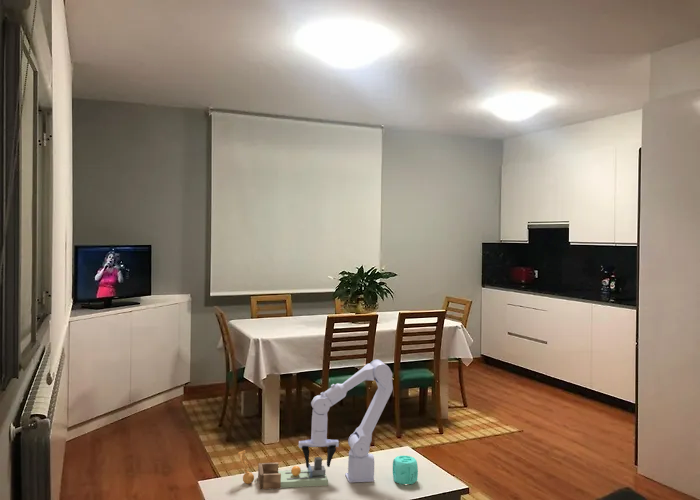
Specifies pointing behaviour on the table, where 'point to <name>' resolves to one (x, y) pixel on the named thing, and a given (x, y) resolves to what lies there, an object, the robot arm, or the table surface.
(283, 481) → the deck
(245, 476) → the figurine
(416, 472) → the decorative dice
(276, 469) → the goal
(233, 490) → the table surface
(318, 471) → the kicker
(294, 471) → the ball
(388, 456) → the table surface
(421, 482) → the table surface
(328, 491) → the table surface
